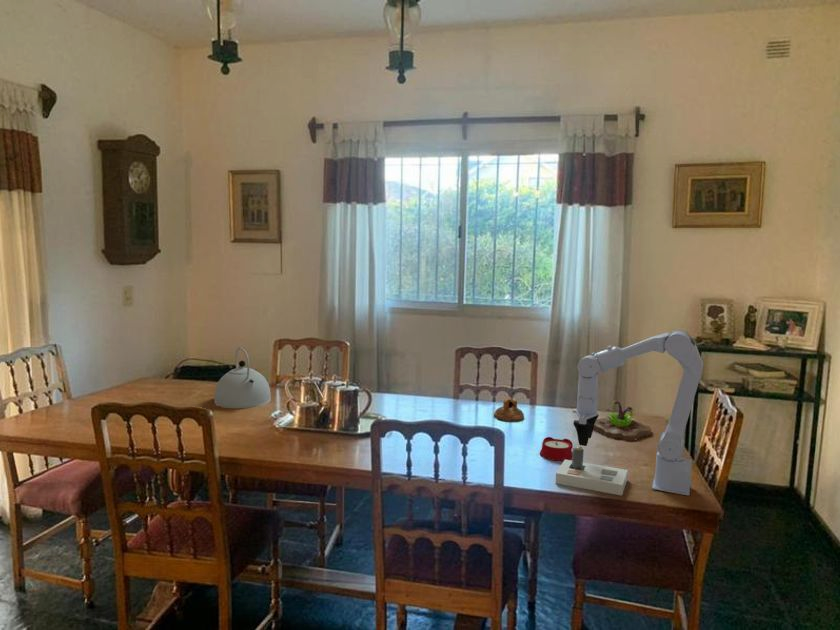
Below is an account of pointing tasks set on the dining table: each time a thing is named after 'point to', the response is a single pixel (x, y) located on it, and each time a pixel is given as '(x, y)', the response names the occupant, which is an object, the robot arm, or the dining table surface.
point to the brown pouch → (509, 411)
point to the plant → (621, 425)
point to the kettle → (242, 387)
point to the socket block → (593, 477)
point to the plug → (577, 458)
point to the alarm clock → (556, 449)
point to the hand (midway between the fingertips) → (585, 441)
